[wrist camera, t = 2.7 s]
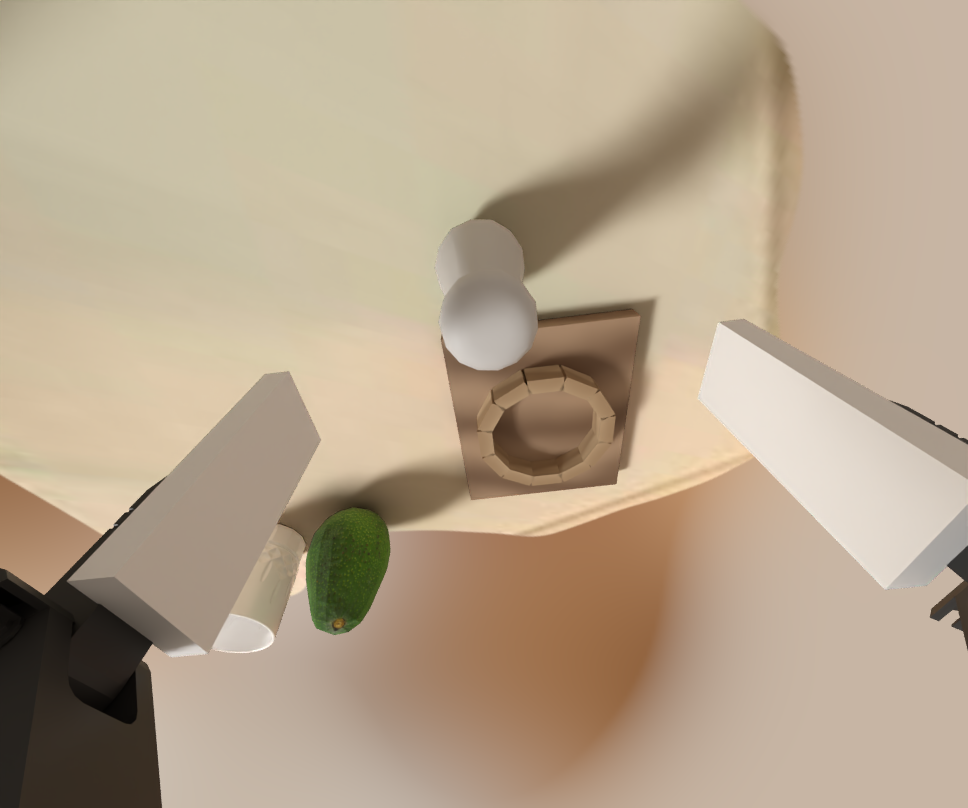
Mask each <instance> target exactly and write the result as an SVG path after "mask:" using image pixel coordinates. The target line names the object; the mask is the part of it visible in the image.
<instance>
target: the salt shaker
mask: <svg viewBox="0 0 968 808" xmlns="http://www.w3.org/2000/svg"><path fill="white" fill-rule="evenodd" d="M435 270H436V274H437V278H438V281H439V285H440V288H441V290H442V292H443V294H444V295H445V296H444V299H443V303H442V308H441V312H440V317H439V326H440V329H441V332H442V336H443V339H444V342H445V346H446V348H447V349H448V350H449V351H450V352H451V354H452V355H453V356H454V357H455V358H456V359H457V360H458V362H459V363H462V364H464V365H467V366H469V367H471V368H474V369H476V370H500V369H503V368H505V367H507V366H510V365H512V364H514V363H517V362H518V361H519V360H520V359H521V358H522V357H523V356H524V355H525V354H526V353H527V352H528V351H529V350H530V349H531V347H532V344H533V341H534V339H535V336H536V333H537V330H538V320H537V310H536V302H535V300H534V299H533V297H532V296H531V294H530V293H529V292H528V290H527V289H526V287H525V286H524V284H523V283H522V282H523V277H524V271H525V267H524V258H523V250H522V247H521V246H520V244H519V243H518V241H517V240H516V238H515V237H514V235H513V234H512V232H511V231H510V230H508V229H507V228H505V227H504V226H502V225H500V224H499V223H497V222H495V221H494V220H469V221H466V222H464V223H462V224H460V225H458V226H456V227H454V228H452V229H451V230H450V231H449V233H448V234H447V236H446V237H445V238H444V240H443V241H442V243H441V244H440V246H439V248H438V253H437V258H436V264H435Z"/></svg>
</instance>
